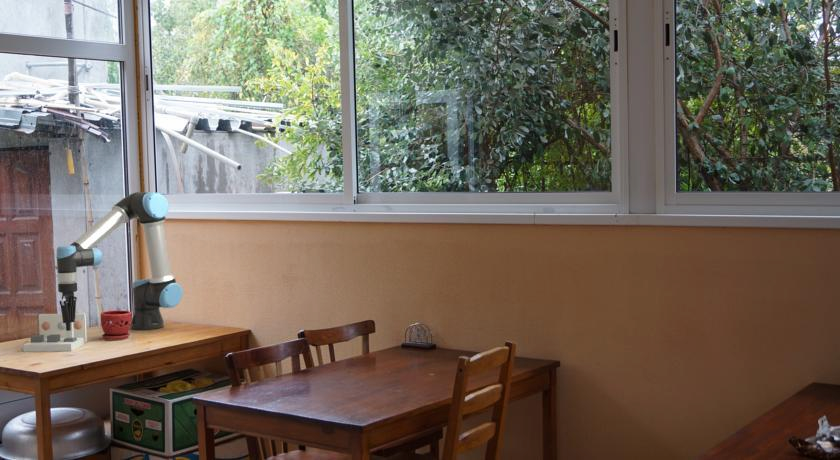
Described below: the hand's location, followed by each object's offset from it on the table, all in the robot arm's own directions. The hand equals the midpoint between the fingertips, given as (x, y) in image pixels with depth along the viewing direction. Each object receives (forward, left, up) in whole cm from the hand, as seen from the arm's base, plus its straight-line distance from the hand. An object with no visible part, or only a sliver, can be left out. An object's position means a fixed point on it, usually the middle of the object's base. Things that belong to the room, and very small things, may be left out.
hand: (69, 337), depth 395 cm
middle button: (+7, 0, -2) cm, 7 cm away
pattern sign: (+7, -10, -4) cm, 13 cm away
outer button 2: (+14, 0, -2) cm, 14 cm away
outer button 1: (0, 0, -3) cm, 3 cm away
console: (+7, 0, -4) cm, 8 cm away
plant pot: (-13, -20, -5) cm, 24 cm away
